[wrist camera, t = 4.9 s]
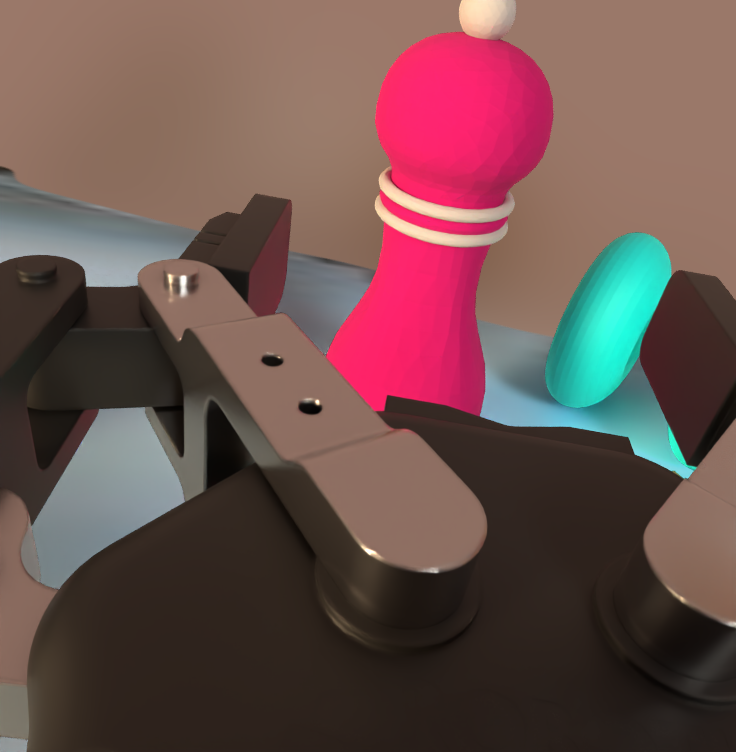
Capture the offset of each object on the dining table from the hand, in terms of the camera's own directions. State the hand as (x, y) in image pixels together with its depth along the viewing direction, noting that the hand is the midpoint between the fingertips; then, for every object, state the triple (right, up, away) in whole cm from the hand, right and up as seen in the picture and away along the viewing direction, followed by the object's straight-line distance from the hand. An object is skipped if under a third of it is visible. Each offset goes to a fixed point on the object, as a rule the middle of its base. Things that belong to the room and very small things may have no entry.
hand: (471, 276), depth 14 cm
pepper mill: (-1, -6, +18) cm, 19 cm away
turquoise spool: (+13, -5, +24) cm, 27 cm away
